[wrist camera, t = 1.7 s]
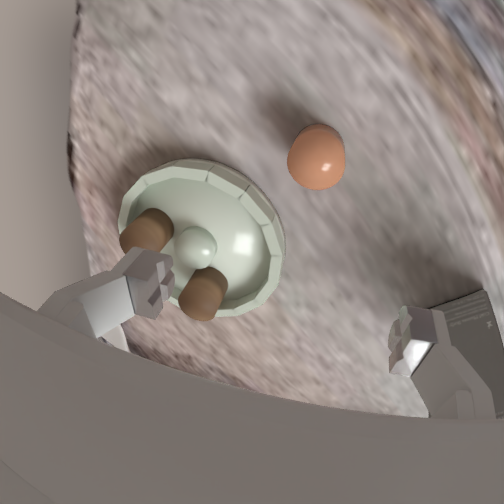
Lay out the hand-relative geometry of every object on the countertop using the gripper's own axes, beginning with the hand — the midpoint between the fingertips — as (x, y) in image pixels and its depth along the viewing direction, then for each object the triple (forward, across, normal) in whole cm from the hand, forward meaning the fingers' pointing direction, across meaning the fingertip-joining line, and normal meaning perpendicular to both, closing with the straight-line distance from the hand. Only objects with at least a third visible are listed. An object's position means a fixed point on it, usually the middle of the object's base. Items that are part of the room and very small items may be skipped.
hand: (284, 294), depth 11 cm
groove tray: (+17, +10, +11) cm, 23 cm away
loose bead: (+17, 0, 0) cm, 17 cm away
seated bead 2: (+16, +9, +15) cm, 24 cm away
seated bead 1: (+16, +15, +10) cm, 24 cm away
